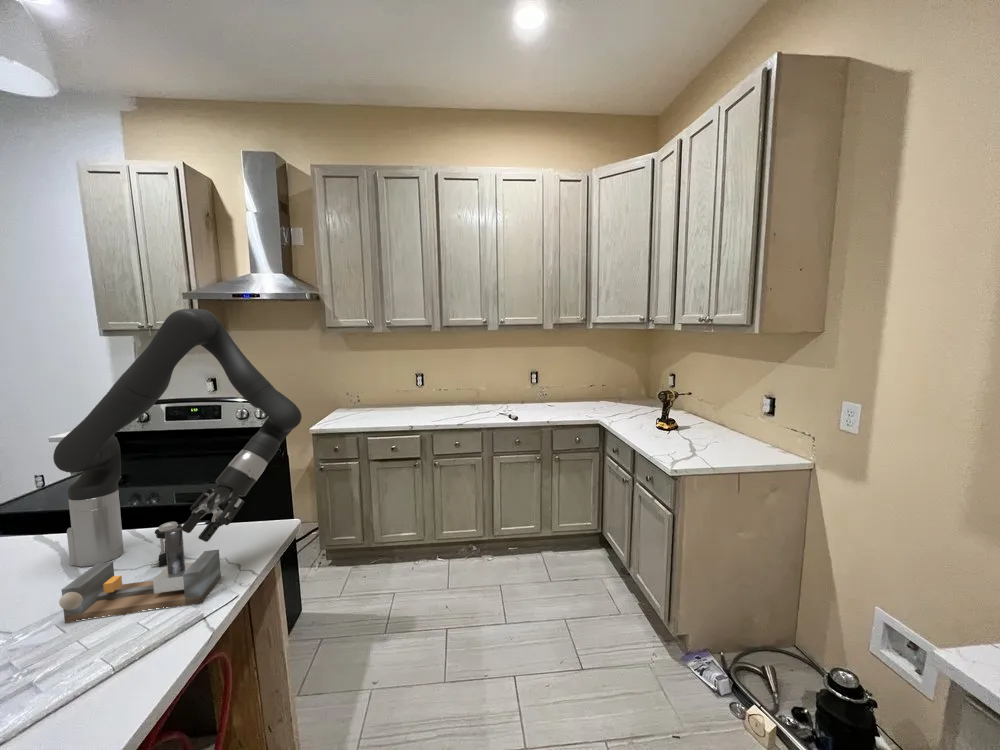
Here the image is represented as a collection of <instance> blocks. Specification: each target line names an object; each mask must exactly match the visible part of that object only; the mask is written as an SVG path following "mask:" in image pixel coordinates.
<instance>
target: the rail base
mask: <svg viewBox="0 0 1000 750" xmlns="http://www.w3.org/2000/svg"><path fill="white" fill-rule="evenodd" d="M220 558H221V557H220V548H219V549H210V550H204V551H203V552H202V553H201V554H200V555H199V556H198V557H197V558H196V559H195V561H194V563H193V564H192V565H191V566H190V567H189V568H188V569H187V570H186V571H185V572H184V574H183V581H184V590H177V591H169V592H162V593H155V594H154V587H153V580H146V581H145V580H144V581H138V582H131V583H122V585H121V586H120V587H118V588H117V589H116V590H115V591H114V592H110V593H104V587H103V584H104V583H105V582H107V581H108V580H109V579H110V578H111V577H113V576H115V569H114V562H113V561H107V562H104V563H99V564H96V565H93V566H91V567H90V568H89V569H87V570H86V571H85V572H84V573H82V574H80V575H79V576H78V577H77V578H75V579H73V581H71V582H70V583H68V584H67V585H66V586H64V587H63V588H61V596H60V598H59V602H58V603H59V606H60V607H61V609H63V616H64V623H65V622H68V623H72V622H71V621H75V622H77V621H76V620H82V619H88V618H94V617H102V616H108V615H117V616H119V615H118V614H124V615H128V614H127V613H131V614H134V613H133V612H138V611H142V610H148V609H156V608H163V607H164V608H166V607H173V606H180V607H183V606H182V605H187V606H193V604H194V605H200V603H201V604H202V603H203V602H204V601H205V600H206V598H207V597H208V596H207V595H209V594H210V593H211V592H212V591H213V589H214V588H215V586H216V585H217V584H218V582H219V581H220V580H221V578H222V574H221V572H222V571H221V559H220ZM210 591H211V592H210ZM209 592H210V593H209ZM206 596H207V597H206ZM204 599H205V600H204ZM173 608H174V607H173ZM166 609H167V608H166ZM138 613H139V612H138ZM82 621H83V620H82Z"/></svg>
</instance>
